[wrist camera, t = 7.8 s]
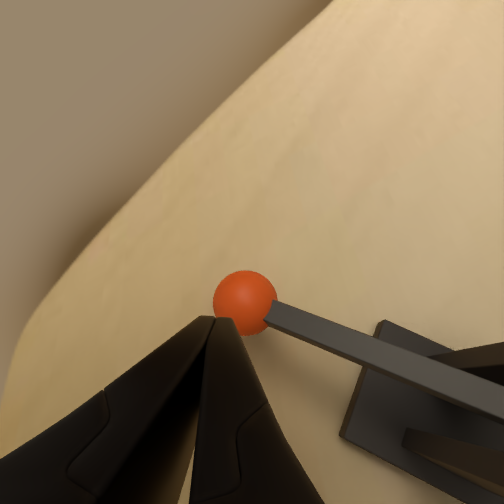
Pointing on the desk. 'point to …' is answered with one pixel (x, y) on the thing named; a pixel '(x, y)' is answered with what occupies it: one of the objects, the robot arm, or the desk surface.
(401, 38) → the desk surface
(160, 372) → the robot arm
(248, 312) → the switch
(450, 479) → the switch bracket
